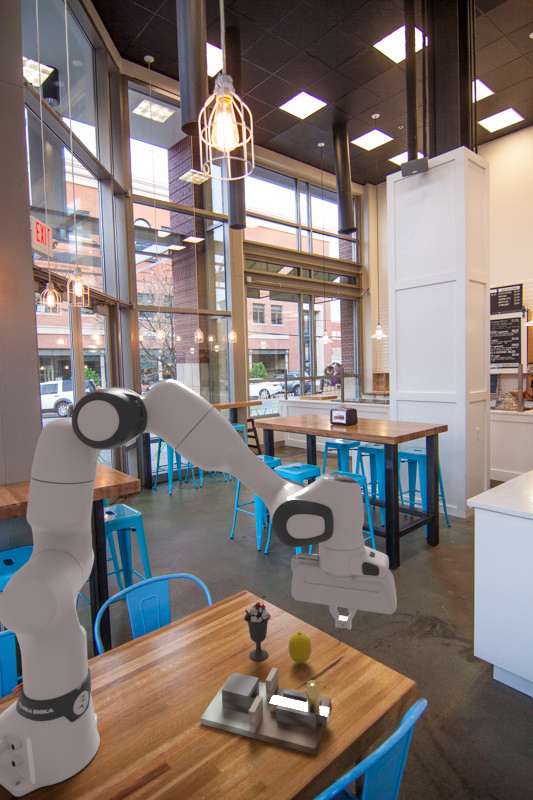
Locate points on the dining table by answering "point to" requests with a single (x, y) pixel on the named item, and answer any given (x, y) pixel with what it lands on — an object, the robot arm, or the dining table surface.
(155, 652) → the dining table surface
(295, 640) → the lemon
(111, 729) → the dining table surface
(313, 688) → the bolt
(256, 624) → the sundae
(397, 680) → the dining table surface
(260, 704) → the lock board
